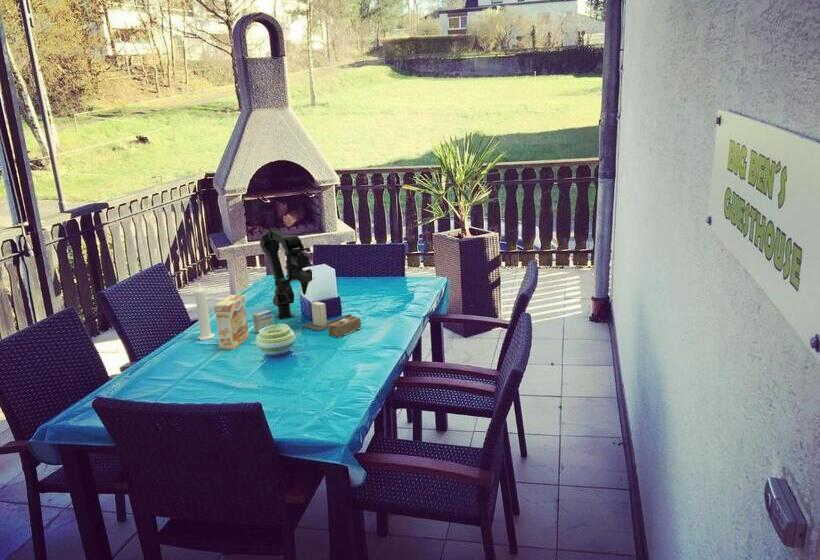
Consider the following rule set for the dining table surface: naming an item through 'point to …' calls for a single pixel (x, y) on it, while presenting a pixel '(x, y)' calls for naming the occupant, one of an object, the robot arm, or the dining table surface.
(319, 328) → the mat
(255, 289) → the dining table surface
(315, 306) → the cream pillar
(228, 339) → the coffeecake box
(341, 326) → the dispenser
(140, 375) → the dining table surface
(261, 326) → the medicine box
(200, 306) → the candle
